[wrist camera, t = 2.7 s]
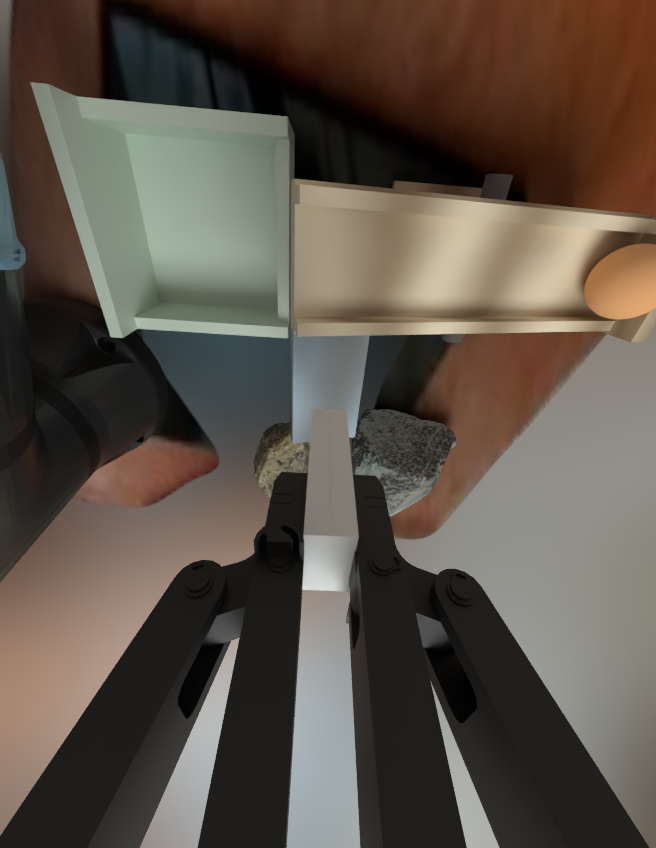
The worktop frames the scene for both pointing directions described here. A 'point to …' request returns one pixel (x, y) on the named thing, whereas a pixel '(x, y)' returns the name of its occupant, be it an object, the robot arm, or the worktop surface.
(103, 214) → the bin
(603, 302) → the brown egg
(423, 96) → the worktop surface
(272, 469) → the rock
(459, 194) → the fulcrum
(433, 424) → the stone
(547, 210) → the lever
